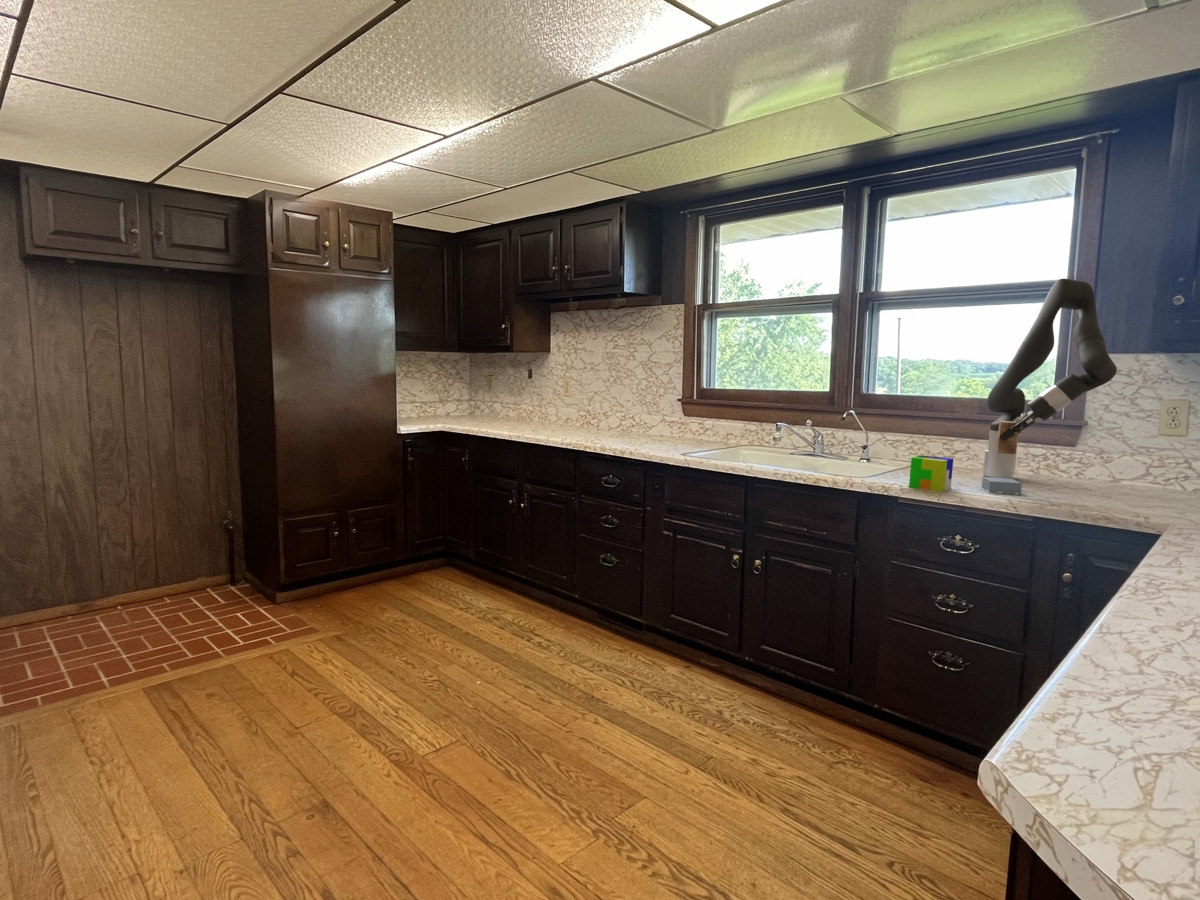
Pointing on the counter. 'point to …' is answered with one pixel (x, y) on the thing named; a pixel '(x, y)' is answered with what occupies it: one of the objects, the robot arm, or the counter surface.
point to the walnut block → (1011, 442)
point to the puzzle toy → (931, 473)
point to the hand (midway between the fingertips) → (1000, 437)
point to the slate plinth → (1001, 485)
